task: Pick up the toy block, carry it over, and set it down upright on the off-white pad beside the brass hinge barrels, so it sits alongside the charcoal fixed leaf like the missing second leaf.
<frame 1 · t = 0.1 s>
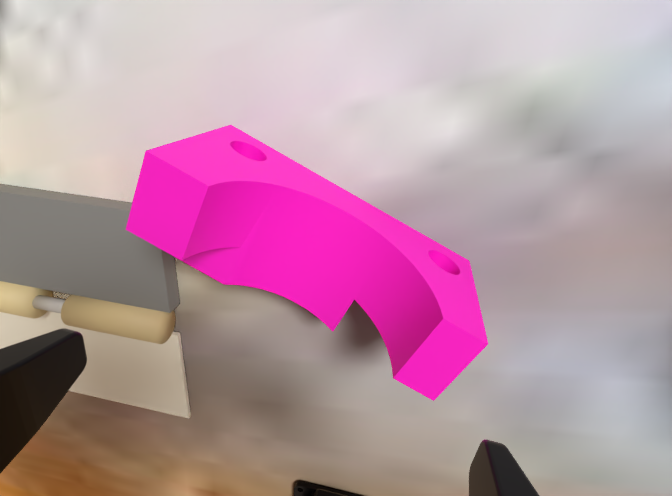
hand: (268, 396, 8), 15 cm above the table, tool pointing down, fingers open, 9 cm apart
toy block: (327, 235, 23), on the table
hinge leaf: (54, 238, 27), on the table
leaf pad: (86, 355, 32), on the table
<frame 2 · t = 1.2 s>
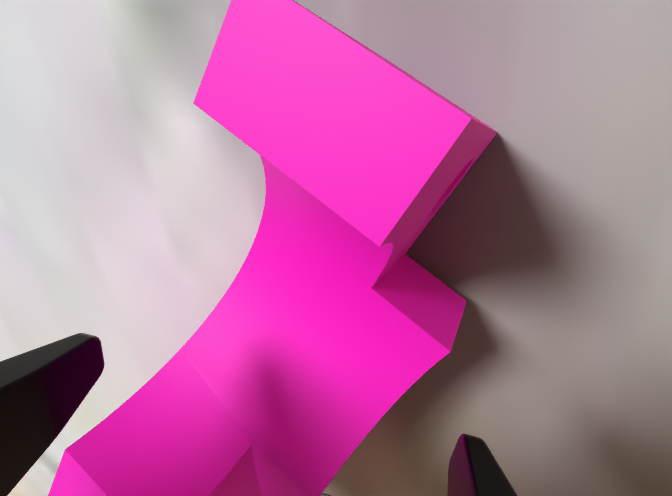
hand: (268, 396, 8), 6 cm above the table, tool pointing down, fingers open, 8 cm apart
toy block: (350, 298, 15), on the table, touching gripper
when the fingers open (4 cm above the table, at t = 8.5 s): toy block stays where it is, resting on leaf pad.
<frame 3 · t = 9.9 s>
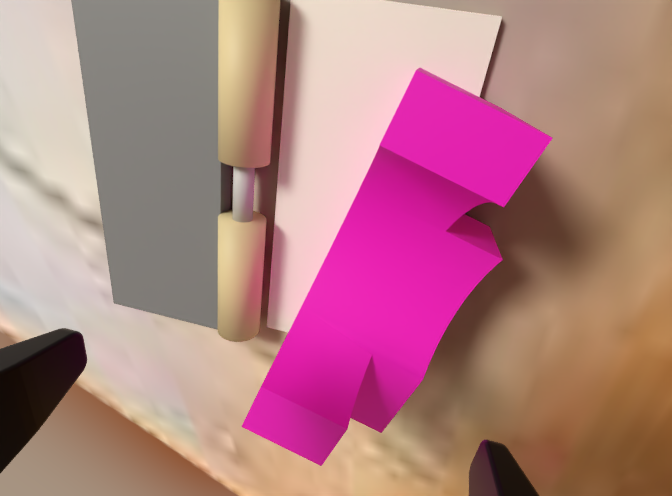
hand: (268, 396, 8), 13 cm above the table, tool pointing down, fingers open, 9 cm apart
toy block: (401, 243, 20), resting on leaf pad
hinge leaf: (169, 166, 21), on the table
leaf pad: (358, 205, 20), on the table
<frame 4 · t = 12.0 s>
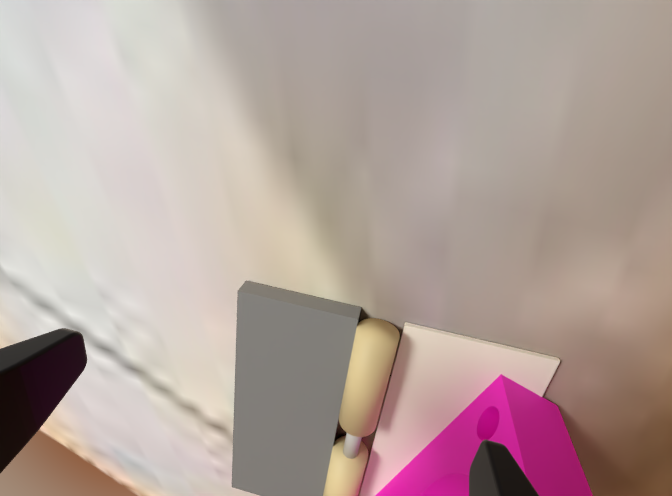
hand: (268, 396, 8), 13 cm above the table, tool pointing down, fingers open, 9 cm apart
toy block: (467, 465, 26), resting on leaf pad
hinge leaf: (289, 403, 27), on the table
leaf pad: (440, 443, 26), on the table
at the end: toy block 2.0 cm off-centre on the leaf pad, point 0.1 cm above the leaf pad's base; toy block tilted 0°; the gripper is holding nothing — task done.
